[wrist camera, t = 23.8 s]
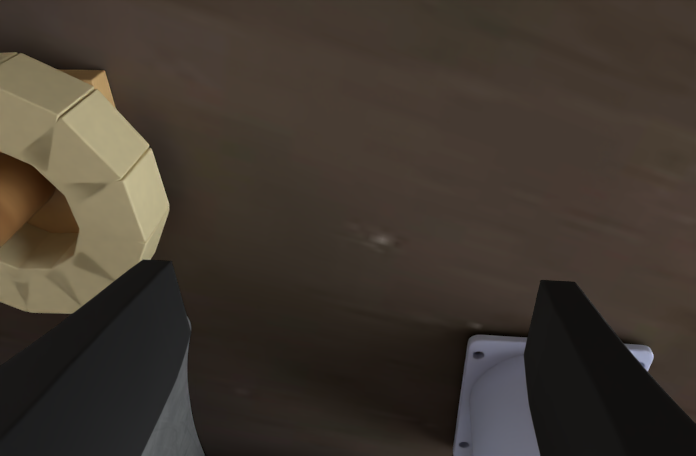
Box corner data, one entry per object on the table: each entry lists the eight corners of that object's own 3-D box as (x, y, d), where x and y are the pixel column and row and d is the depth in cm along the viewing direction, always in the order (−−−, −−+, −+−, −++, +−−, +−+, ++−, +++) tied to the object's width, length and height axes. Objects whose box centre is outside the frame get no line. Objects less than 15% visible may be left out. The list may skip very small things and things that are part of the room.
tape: (193, 277, 24) (172, 316, 22) (-15, 274, 25) (-51, 311, 24) (120, 46, 18) (84, 72, 16) (-143, 58, 20) (-205, 83, 18)
